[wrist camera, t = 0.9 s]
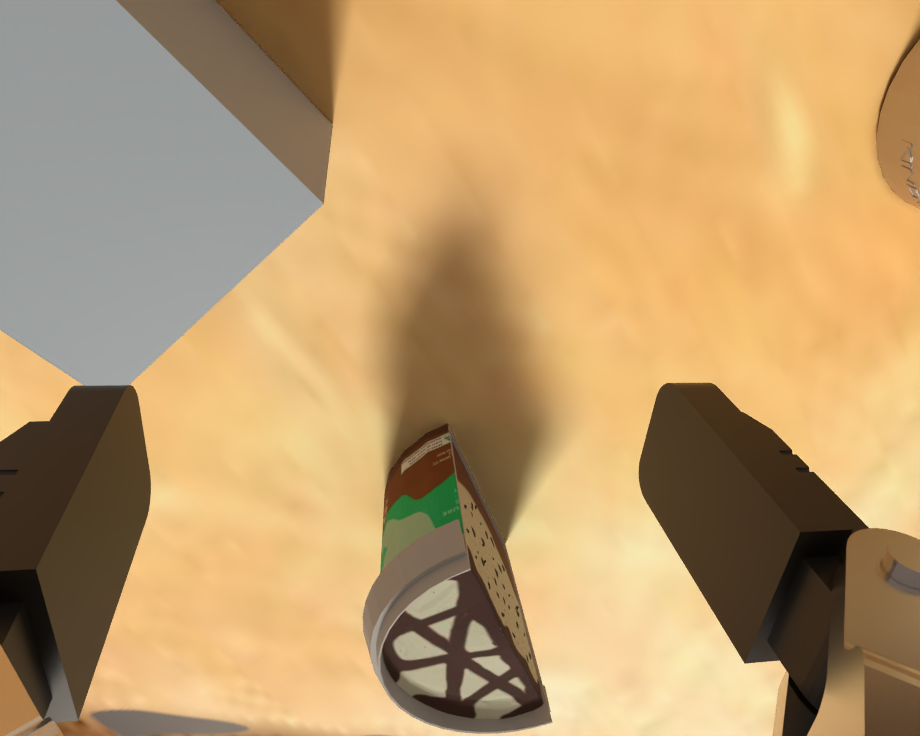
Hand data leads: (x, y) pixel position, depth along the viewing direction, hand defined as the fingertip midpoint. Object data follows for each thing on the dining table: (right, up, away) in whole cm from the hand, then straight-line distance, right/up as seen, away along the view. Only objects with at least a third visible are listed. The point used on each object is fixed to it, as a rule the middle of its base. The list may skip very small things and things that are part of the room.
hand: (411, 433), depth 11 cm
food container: (-1, -6, +26) cm, 27 cm away
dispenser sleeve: (-10, +10, +14) cm, 20 cm away
